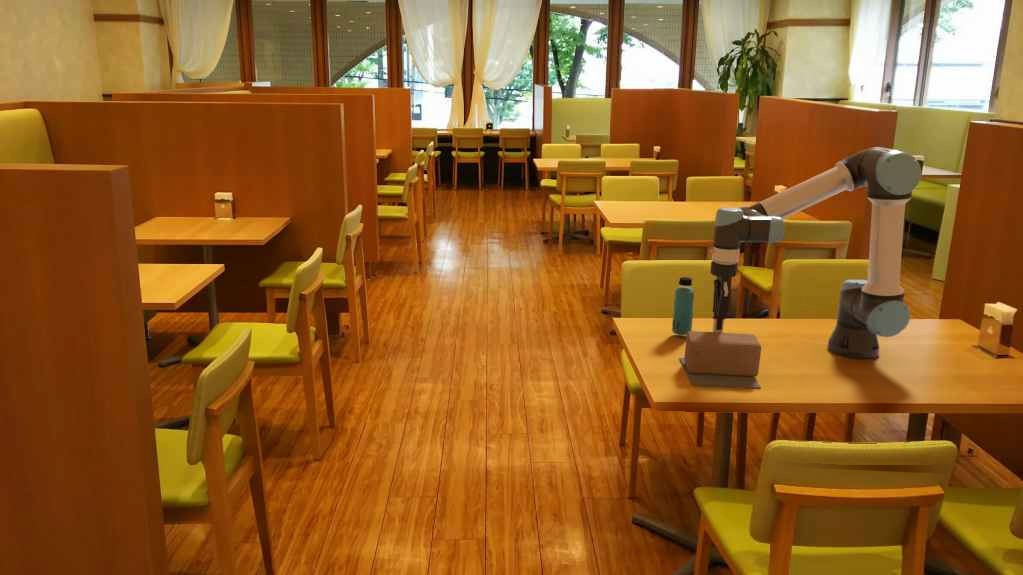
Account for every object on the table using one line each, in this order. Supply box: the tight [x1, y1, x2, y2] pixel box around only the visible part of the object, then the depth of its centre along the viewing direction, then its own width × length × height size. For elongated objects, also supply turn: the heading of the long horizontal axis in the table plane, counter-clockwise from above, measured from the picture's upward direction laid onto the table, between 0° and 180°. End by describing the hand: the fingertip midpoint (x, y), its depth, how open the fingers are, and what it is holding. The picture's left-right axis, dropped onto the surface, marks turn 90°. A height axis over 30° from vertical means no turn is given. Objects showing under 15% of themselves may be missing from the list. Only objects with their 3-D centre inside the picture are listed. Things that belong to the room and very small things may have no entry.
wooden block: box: [683, 330, 762, 378], centre depth 238 cm, size 10×10×20 cm
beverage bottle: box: [671, 276, 696, 336], centre depth 267 cm, size 6×7×20 cm
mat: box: [678, 357, 762, 390], centre depth 238 cm, size 19×22×1 cm
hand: (716, 338), depth 243 cm, fingers closed
